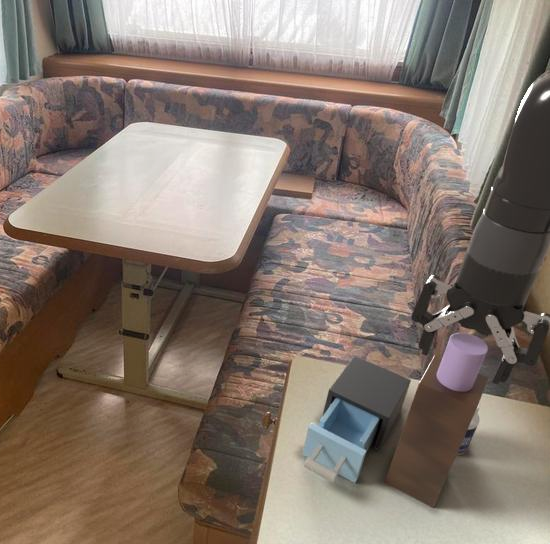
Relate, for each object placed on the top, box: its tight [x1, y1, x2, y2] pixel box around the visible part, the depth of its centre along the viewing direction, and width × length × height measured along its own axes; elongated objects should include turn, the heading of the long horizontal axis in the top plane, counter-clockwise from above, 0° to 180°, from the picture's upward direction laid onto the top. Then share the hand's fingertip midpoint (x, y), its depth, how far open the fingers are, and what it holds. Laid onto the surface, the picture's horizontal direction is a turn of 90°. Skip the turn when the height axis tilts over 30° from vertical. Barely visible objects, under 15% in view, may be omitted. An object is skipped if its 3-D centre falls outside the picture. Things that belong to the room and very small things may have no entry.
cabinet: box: [321, 355, 412, 450], centre depth 93 cm, size 11×10×8 cm
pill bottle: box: [456, 401, 481, 456], centre depth 88 cm, size 5×5×10 cm
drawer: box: [301, 397, 382, 484], centre depth 85 cm, size 14×8×6 cm, turn 145°
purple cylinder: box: [437, 332, 489, 392], centre depth 72 cm, size 4×4×6 cm
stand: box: [384, 355, 489, 509], centre depth 79 cm, size 7×7×20 cm
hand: (460, 365), depth 73 cm, fingers open, 8 cm apart
